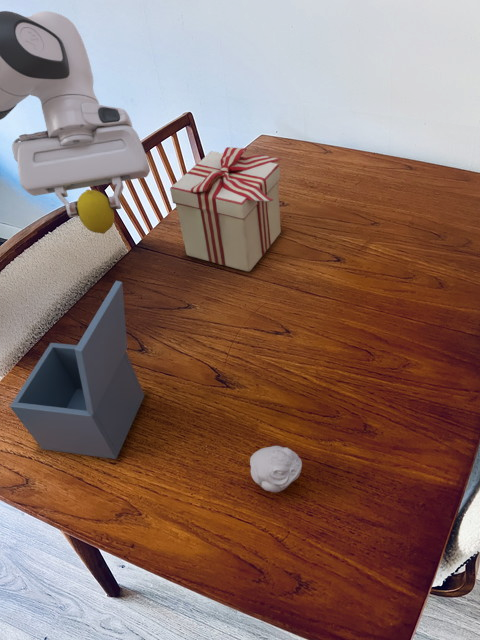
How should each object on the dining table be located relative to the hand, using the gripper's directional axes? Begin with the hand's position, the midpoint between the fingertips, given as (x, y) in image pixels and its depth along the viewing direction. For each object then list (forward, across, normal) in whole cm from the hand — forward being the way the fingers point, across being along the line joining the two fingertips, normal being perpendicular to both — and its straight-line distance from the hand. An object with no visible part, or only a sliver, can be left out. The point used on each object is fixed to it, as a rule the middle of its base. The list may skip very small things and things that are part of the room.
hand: (95, 212), depth 85 cm
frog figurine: (+45, +18, -22) cm, 53 cm away
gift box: (+6, +24, +17) cm, 30 cm away
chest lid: (+23, +1, -23) cm, 32 cm away
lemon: (+3, 0, +4) cm, 5 cm away
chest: (+33, -6, -9) cm, 34 cm away
